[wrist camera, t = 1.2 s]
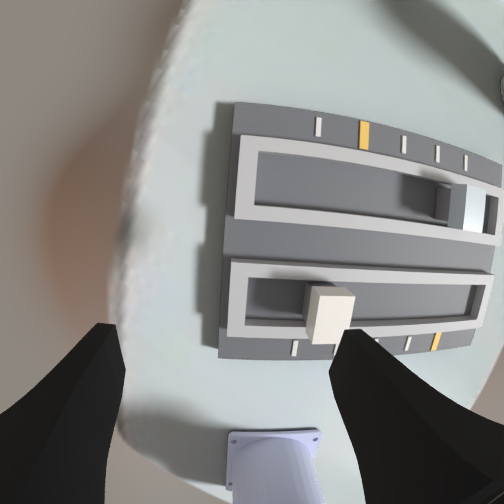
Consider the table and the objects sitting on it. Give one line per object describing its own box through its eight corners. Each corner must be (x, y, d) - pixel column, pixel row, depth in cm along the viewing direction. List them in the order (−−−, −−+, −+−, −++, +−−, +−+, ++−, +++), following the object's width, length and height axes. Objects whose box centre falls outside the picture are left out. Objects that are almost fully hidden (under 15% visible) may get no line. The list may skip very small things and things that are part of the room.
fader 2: (452, 226, 18) (481, 233, 15) (432, 223, 18) (462, 229, 15) (455, 188, 18) (486, 189, 15) (436, 183, 18) (467, 184, 14)
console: (463, 339, 22) (476, 349, 20) (218, 349, 20) (217, 366, 18) (492, 165, 19) (509, 165, 17) (234, 107, 17) (235, 96, 15)
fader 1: (328, 320, 19) (345, 343, 16) (299, 319, 19) (311, 344, 16) (335, 278, 18) (355, 296, 15) (304, 277, 18) (319, 295, 15)
